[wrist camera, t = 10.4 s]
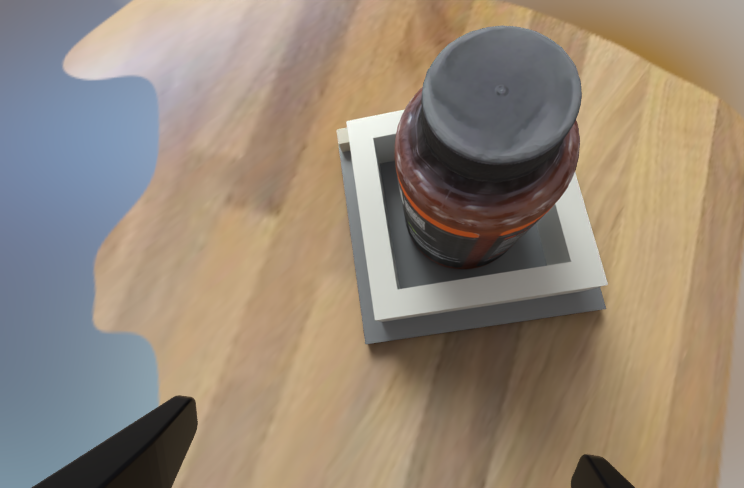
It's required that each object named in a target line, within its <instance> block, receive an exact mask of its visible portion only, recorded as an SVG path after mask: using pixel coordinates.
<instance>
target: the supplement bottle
mask: <svg viewBox="0 0 744 488" xmlns="http://www.w3.org/2000/svg"><path fill="white" fill-rule="evenodd" d="M581 98H582V92H581V82H580V78H579V76H578V72H577V69H576V66H575V64H574V63H573V61H572V60H571V58H570V57H569V56H568V55H567V53H566V52H565V51H564V50H563V48H562V47H560V46H559V45H557V44H556V43H555V42H554V41H552V40H551V39H549V38H548V37H546V36H544V35H542V34H540V33H538V32H536V31H533V30H529V29H525V28H521V27H514V26H495V27H487V28H483V29H479V30H476V31H472V32H469V33H467V34H465V35H463V36H461V37H459V38H458V39H456V40H455V41H453V42H452V43H450V44H448V45H447V46H446V47H445V48H444V49H443V50H442V51H441V53H439V55H438V56H437V58H436V59H435V60H434V62H433V63H432V65H431V67H430V68H429V69H428V71H427V74H426V78H425V80H424V83H423V87H422V88H421V89H420V90H419V91H418V92H417V93H416V94H415V95H414V97H413V98H412V99H411V101H410V102H409V103H408V105H407V106H406V108H405V110H404V112H403V114H402V116H401V119H400V122H399V124H398V127H397V132H396V137H395V151H394V152H395V165H396V171H397V178H398V183H399V189H400V194H401V200H402V205H403V211H404V216H405V222H406V226H407V230H408V233H409V235H410V237H411V239H412V241H413V242H414V244H415V245H416V247H417V248H418V249H419V250H420V251H421V252H422V253H423V254H424V255H425V256H426V257H428V258H429V259H430V260H432V261H434V262H435V263H437V264H439V265H442V266H445V267H448V268H454V269H473V268H479V267H482V266H485V265H487V264H489V263H491V262H493V261H495V260H496V259H498V258H499V257H501V256H502V255H504V254H505V253H506V252H507V251H508V250H509V249H510V248H511V247H512V246H513V245H514V244H515V243H516V242H517V241H518V240H519V239H520V238H521V237H522V236H523V235H524V234H525V233H526V232H527V231H529V229H530V228H532V227H533V226H534V225H535V224H536V223H537V222H538V221H539V220H540V219H541V218H542V217H543V216H544V215H545V214H546V213H547V212H548V211H549V210H550V209H551V208H552V207H553V206H554V204H555V203H556V202H557V201H558V200H559V199H560V197H561V196H562V195H563V193H564V192H565V191H566V189H567V188H568V186H569V183H570V182H571V180H572V178H573V175H574V172H575V170H576V166H577V162H578V158H579V147H580V136H579V128H578V124H577V121H576V118H577V115H578V113H579V109H580V105H581Z"/></svg>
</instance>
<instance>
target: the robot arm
mask: <svg viewBox="0 0 744 488" xmlns="http://www.w3.org/2000/svg"><path fill="white" fill-rule="evenodd" d="M197 425H198V421H197V412H196V402H195V400H194V398H192V397H187V396H175V397H173V398H171V399H170V400H168V401H167V402H165V403H163V404H162V405H160V406H159V407H157V408H156V409H154V410H152V411H151V412H149V413H148V414H146V415H145V416H143V417H141V418H140V419H138V420H137V421H135V422H134V423H132V424H131V425H129V426H128V427H126V428H124V429H123V430H121V431H120V432H118V433H116V434H115V435H113V436H112V437H110V438H109V439H107V440H105V441H104V442H102V443H101V444H99V445H98V446H96V447H94V448H93V449H91V450H90V451H88V452H87V453H85V454H84V455H82V456H80V457H79V458H77V459H76V460H74V461H73V462H71V463H69V464H68V465H66V466H65V467H63V468H62V469H60V470H58V471H57V472H56V473H54V474H52V475H51V476H49V477H47V478H46V479H44V480H43V481H41V482H40V483H38V484H37V485H35V486H33V487H32V488H171V487H172V485H173V483H174V481H175V478H176V476H177V474H178V472H179V469H180V467H181V465H182V463H183V460H184V458H185V456H186V454H187V451H188V449H189V447H190V445H191V442H192V440H193V438H194V436H195V433H196V430H197ZM571 488H635V487H634V486H633V485H632V484H631V483H630V482H629V481H628V480H627V479H626V478H624V477H623V476H622V475H621V474H620V473H619V472H618V471H617V470H616V469H615V468H614V467H613V466H612V465H611V464H610V463H609V462H608V461H607V460H606V459H604V458H603V457H600V456H594V455H587V454H585V455H583V456H581V458H580V460H579V462H578V465H577V467H576V469H575V472H574V474H573V476H572V480H571Z"/></svg>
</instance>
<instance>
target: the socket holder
mask: <svg viewBox="0 0 744 488" xmlns="http://www.w3.org/2000/svg"><path fill="white" fill-rule="evenodd" d="M403 112H404V110H400V111H395V112H390V113H386V114H381V115H376V116H371V117H366V118H361V119H356V120H351V121H346V122H347V128H343V129H338V130H337V137H338V144H339V152H340V159H341V167H342V174H343V181H344V189H345V196H346V203H347V211H348V218H349V226H350V233H351V240H352V248H353V255H354V262H355V270H356V277H357V285H358V292H359V299H360V307H361V314H362V321H363V329H364V336H365V344H371V343H378V342H385V341H391V340H398V339H405V338H412V337H419V336H425V335H432V334H439V333H446V332H453V331H459V330H466V329H473V328H480V327H487V326H493V325H500V324H507V323H514V322H521V321H527V320H534V319H541V318H548V317H555V316H561V315H568V314H575V313H582V312H588V311H595V310H602V309H606V306H605V303H604V299H603V296H602V292H601V289H600V287H601V286H605V285H608V283H607V279H606V276H605V273H604V269H603V266H602V262H601V259H600V256H599V252H598V249H597V245H596V242H595V238H594V235H593V232H592V228H591V225H590V221H589V218H588V215H587V211H586V208H585V204H584V201H583V197H582V194H581V191H580V187H579V184H578V180H577V177H576V173H575V172H574V175H573V178H572V180H571V182H570V183H569V186H568V188H567V189H566V191H565V192H564V193H563V195H562V196H561V197H560V199H559V200H558V201H557V202H556V203H555V204H554V206H553V207H552V208H551V209H550V210H549V211H548V212H547V213H546V214H545V215H544V216H543V217H542V218H541V219H540V220H539V221H538V222H537V223H536V224H535V225H534V226H533V227H532V228H530V229H529V231H527V232H526V233H525V234H524V235H523V236H522V237H521V238H520V239H519V240H518V241H517V242H516V243H515V244H514V245H513V246H512V247H511V248H510V249H509V250H508V251H507V252H506V253H505V254H504V255H502V256H501V257H499V258H498V259H496V260H495V261H493V262H491V263H489V264H487V265H485V266H482V267H479V268H473V269H454V268H448V267H445V266H442V265H439V264H437V263H435V262H434V261H432V260H430V259H429V258H428V257H426V256H425V255H424V254H423V253H422V252H421V251H420V250H419V249H418V248H417V247H416V245H415V244H414V242H413V241H412V239H411V237H410V235H409V233H408V230H407V226H406V222H405V216H404V211H403V205H402V200H401V194H400V189H399V183H398V178H397V171H396V165H395V152H394V151H395V137H396V132H397V127H398V124H399V122H400V119H401V116H402V114H403Z"/></svg>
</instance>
